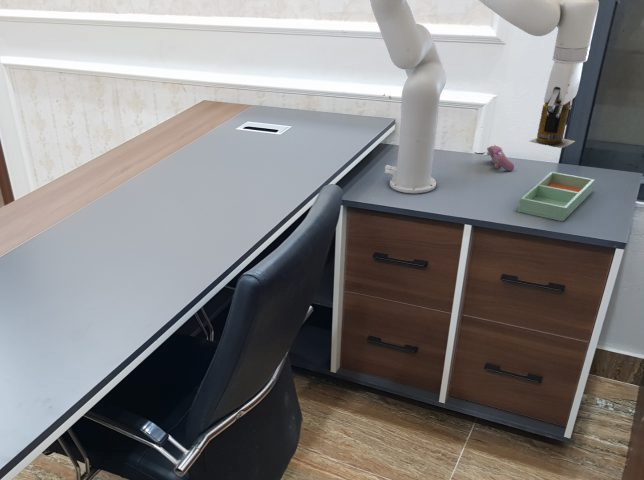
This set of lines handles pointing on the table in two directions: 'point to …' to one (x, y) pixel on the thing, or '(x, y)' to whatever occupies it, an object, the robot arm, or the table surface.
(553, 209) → the tray
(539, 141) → the condiment
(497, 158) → the pink animal figurine
